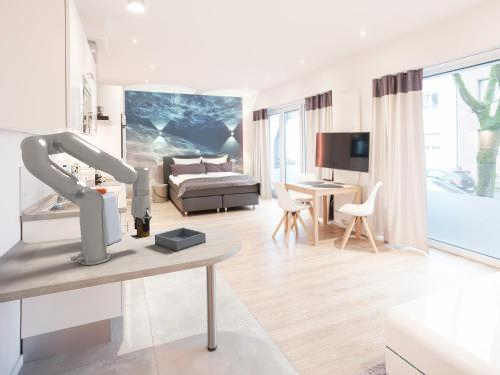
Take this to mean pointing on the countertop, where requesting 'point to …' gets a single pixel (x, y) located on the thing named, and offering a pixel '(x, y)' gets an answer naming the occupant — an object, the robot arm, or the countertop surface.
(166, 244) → the open bin
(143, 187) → the robot arm
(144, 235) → the condiment
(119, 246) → the countertop surface
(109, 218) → the plastic bottle
